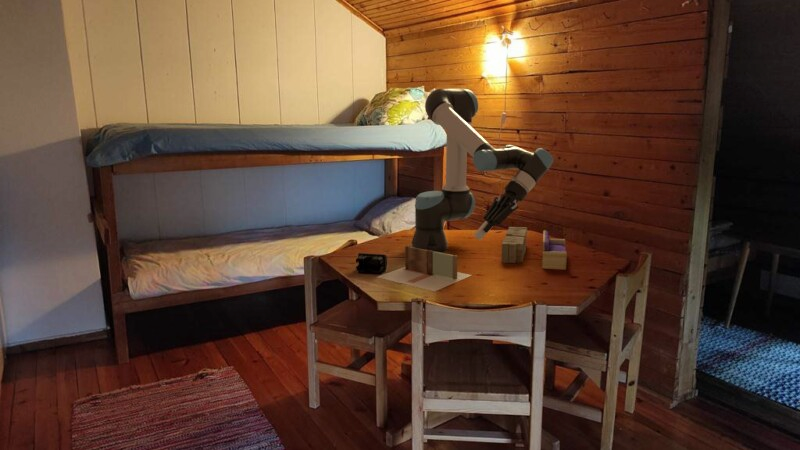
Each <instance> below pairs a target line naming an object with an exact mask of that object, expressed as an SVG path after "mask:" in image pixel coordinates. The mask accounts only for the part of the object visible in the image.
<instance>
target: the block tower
mask: <svg viewBox="0 0 800 450" xmlns="http://www.w3.org/2000/svg"><path fill="white" fill-rule="evenodd" d="M527 236H528V227H523V226H522V227H521V226H519V227H518V226H509V227H508V229H507V231H506V233H505V237H504V239H503V241H502V243H501V263H510V264H516V263H523V260H524V257H525V254H526V251H527V250H526V249H527V238H528V237H527Z"/></svg>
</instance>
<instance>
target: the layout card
mask: <svg viewBox="0 0 800 450" xmlns="http://www.w3.org/2000/svg"><path fill="white" fill-rule="evenodd" d="M471 276H472V274H467V273H465V272H459V271H457V279H452V278H447V277H443V276H439V275H434V274H433V275H428V274H425V273H421V272H417V271H412V270H406V269H405V266H404V267H400V268H398V269H395V270H392V271H390V272H387V273H384V274H383V273H382V274H381V275H377V278H379V279H383V280H387V281H391V282H395V283H398V284H403V285H406V286H407V285H408V286H411V287H415V288H420V289H423V290H427V291H431V292H436V291H439V290H441V289H443V288H445V287H448V286H450V285H452V284H455V283H457V282H460V281H462V280H464V279H467V278H469V277H471Z"/></svg>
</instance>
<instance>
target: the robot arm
mask: <svg viewBox="0 0 800 450" xmlns="http://www.w3.org/2000/svg"><path fill="white" fill-rule="evenodd" d="M424 107H425V108H424V109H425V113H426V115H427V117H428V119H429V120H430V121H431V122H433V123H434V124H435V125H437V126H441V128H442V129H444V130H445V132H446V151H445V152H446V153H445V156H446V157H445V184H444V185H443V186H442V187H441V191H440V190H430V191H424V192H420V193H419V194H417V195H416V196H415V200H414V201H415V204H414V210H415V212H414V214H415V216H414V217H415V219H414V220H415V221H414V222H415V231H414V234H413V237H412V240H411V243H410V247H414V248H419V249H424V250H428V251H429V250H432V251H433V252H434V251H435V252H440V253H443V252H444V251H446V250H448V249H449V247H448V246H449V245H448V244H449V243H448V241H447V237H446V234H445V231H444V229H445V228H444V222H445V223H446V222H449V221H456V220H458V221H460V220H463V219H466V218H469V217H470V216H471V215H472V214H473V212H474V210H475V206H476V199H475V197H474V195H473V193H472V192H471V191H470V187H469V186H468V185H467V162H468V161H467V160H468V154H469V155H470V156H471V157H472V163H473V165H474V168H475V169H476V170H477V171H479V172H494V171H502V170H503V171H504V170H512V169H515V170H517V172H516V173H515V174H514V176H513V177H512V178H511V180H510V181H509V182H508V183H507V185H506V186H505V187H504V191H505V192H504V193H502V195H500V197H494V198H493V202H492V203H491V205H490V206H489V208H488V210H486V213H485V214H484V216H483V217H482V219H484V222H483V223H482V224H481V225H480V227H479V228H478V229H477V230H476V231H475V233H474V234H473V236H474V237H475V238H476V239H477V240H478V241H481V240H483V238H484V237H485V236H486V235H487V233H488V232H489V231H490V230H491V229H492V228H493V227H495V226H496V227H498V226H500V224H502V222H504V221H505V220H506V219H508V217H509V216H510V215H511V214H512V213H513V212H514V211H516V210H518V208H519V205H517V203H518V202H522V201H524V199H525V198H526V197H527V195H528V193H530V191H531V190H533V188H534V186H535V185H536V184H537V183H538V181H539V180H540V179H542V177H543V176H544V175H545V174H546V173H547V171H548V170H549V169H550V168H551V166H552V164H553V163H554V158H553V155H552V154H551V153H550V152H549V151H548V150H546V149H544V148H542V147H540V148H537V149H536V150H534V151H533V152H532V151H528V150H525V149H523V148H521V147H519V146H517V145H513V144H506V145H505V146H503V147H502V148H495V147H493V146H492V145H491V144H490V143H489V142H488V141H487V140H486V138H484V137H483V136H482V135H480V134H479V132H477V131H476V129H474V128H473V127H472V126H471V124H472V122H473V121H472V120H473V119H472V118H473V117H476V115H477V113H478V110H479V102H478V98H477V95H475V94H474V91H472V90H470V89H467V88H461V87H460V88H438V89H435V90H433V91H431V92H430V93H429V94H428V96H427V97H426V100H425V103H424Z"/></svg>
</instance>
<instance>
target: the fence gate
mask: <svg viewBox="0 0 800 450" xmlns="http://www.w3.org/2000/svg"><path fill="white" fill-rule="evenodd" d="M457 272H458V255H456V254H450V253H445V252H435V251H434V252H433V274H434V275H439V276H443V277H447V278H452V279H457Z"/></svg>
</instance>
